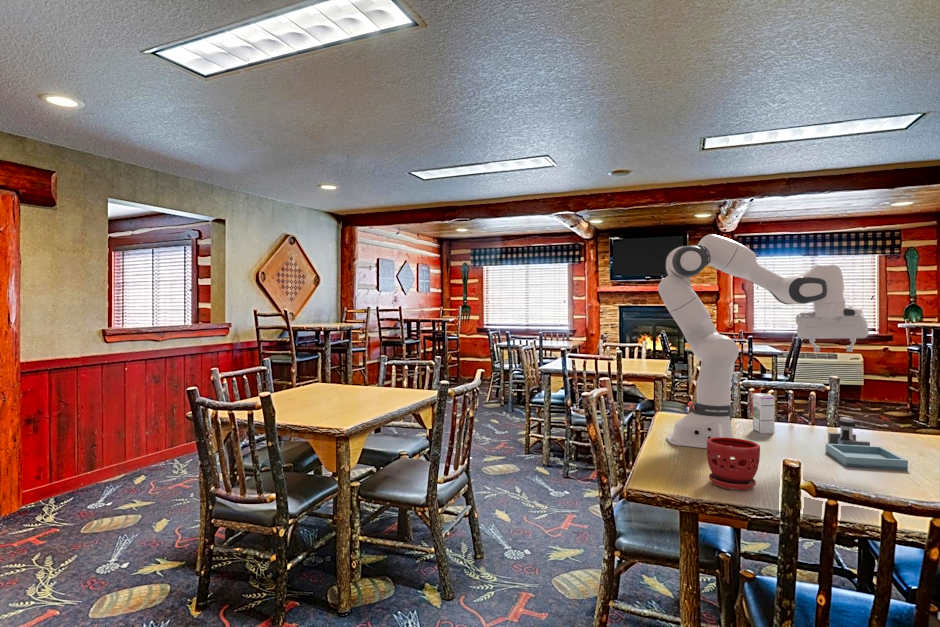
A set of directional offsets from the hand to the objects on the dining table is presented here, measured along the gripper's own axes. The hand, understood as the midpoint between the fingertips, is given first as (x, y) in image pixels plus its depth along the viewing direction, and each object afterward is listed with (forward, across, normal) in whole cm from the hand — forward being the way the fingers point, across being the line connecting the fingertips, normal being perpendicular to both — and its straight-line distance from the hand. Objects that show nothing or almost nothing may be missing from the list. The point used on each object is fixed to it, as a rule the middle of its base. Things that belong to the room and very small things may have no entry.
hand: (833, 351), depth 184 cm
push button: (+34, +2, +3) cm, 34 cm away
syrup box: (+32, -26, +8) cm, 42 cm away
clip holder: (+34, +2, +3) cm, 34 cm away
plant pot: (+28, -14, -65) cm, 72 cm away
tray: (+33, +8, -13) cm, 37 cm away
